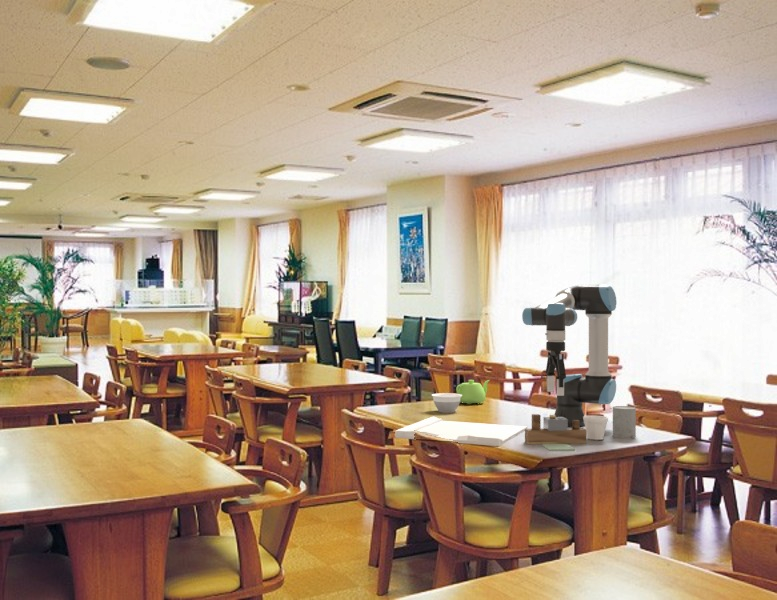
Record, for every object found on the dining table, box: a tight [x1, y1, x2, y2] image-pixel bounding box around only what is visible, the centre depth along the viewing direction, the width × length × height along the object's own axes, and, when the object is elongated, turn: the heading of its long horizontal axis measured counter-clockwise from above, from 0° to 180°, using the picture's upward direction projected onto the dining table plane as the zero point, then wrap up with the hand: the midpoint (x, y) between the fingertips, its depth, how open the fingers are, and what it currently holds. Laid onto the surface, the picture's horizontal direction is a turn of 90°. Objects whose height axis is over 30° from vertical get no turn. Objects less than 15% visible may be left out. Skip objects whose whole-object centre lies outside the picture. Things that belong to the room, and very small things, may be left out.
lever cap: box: [542, 414, 569, 431], centre depth 323 cm, size 7×8×6 cm
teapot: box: [455, 379, 491, 405], centre depth 444 cm, size 22×15×13 cm
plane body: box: [524, 413, 587, 445], centre depth 323 cm, size 5×24×12 cm, turn 94°
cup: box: [583, 415, 609, 441], centre depth 331 cm, size 10×10×9 cm
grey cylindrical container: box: [612, 405, 637, 439], centre depth 338 cm, size 10×10×12 cm
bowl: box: [431, 392, 462, 414], centre depth 412 cm, size 16×16×9 cm
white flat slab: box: [394, 415, 528, 447], centre depth 345 cm, size 45×45×4 cm
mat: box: [541, 444, 576, 452], centre depth 311 cm, size 10×10×1 cm
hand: (555, 393), depth 322 cm, fingers open, 13 cm apart
